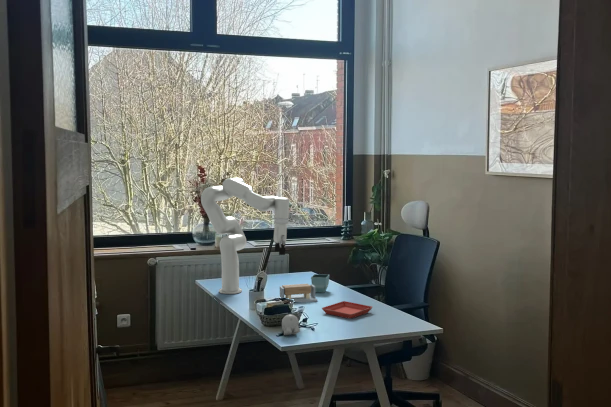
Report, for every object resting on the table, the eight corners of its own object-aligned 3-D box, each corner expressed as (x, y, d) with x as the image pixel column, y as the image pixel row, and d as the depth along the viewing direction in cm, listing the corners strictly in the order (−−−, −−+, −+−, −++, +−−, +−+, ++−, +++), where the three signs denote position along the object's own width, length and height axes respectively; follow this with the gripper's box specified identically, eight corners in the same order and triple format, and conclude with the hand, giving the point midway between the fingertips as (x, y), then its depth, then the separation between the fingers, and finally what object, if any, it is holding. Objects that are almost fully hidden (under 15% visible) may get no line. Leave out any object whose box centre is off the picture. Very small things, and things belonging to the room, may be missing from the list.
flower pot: (310, 293, 352) (310, 276, 351) (314, 289, 360) (314, 273, 360) (326, 293, 350) (326, 277, 349) (329, 290, 358) (329, 274, 358)
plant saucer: (350, 320, 296) (350, 313, 296) (320, 314, 308) (320, 307, 308) (373, 313, 310) (373, 306, 309) (343, 307, 321) (343, 300, 321)
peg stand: (278, 297, 340) (277, 284, 339) (310, 295, 345) (310, 283, 344) (283, 303, 327) (283, 290, 327) (317, 301, 332) (317, 288, 332)
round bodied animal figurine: (293, 336, 279) (291, 316, 282) (302, 333, 269) (299, 312, 271) (277, 337, 277) (276, 317, 280) (285, 334, 266) (283, 313, 269)
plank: (282, 292, 336) (282, 285, 336) (307, 291, 341) (307, 283, 340) (285, 295, 331) (285, 287, 330) (310, 293, 335) (310, 285, 335)
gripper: (270, 218, 344) (269, 250, 346) (278, 223, 328) (276, 256, 329) (284, 218, 346) (282, 250, 348) (292, 223, 330) (290, 256, 332)
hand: (279, 253), depth 339 cm, fingers open, 9 cm apart
